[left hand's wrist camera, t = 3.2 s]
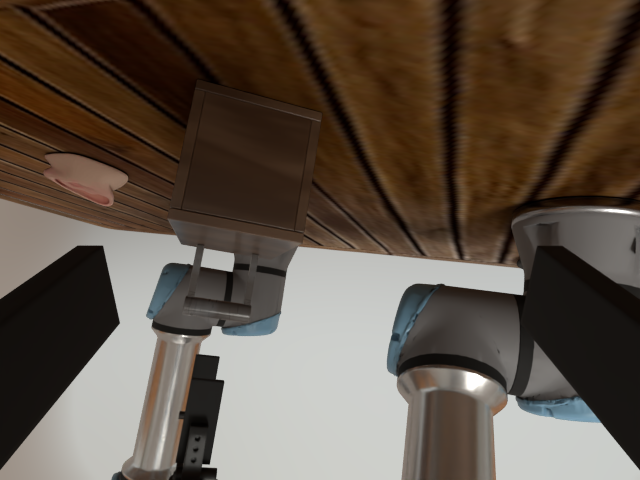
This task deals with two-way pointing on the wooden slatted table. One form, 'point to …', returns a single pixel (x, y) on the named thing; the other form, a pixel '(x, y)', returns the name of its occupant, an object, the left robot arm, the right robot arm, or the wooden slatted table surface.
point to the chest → (247, 158)
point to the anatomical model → (85, 177)
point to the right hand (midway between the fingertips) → (207, 365)
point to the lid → (228, 239)
